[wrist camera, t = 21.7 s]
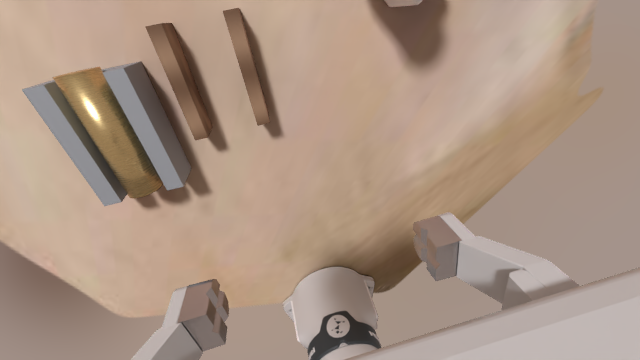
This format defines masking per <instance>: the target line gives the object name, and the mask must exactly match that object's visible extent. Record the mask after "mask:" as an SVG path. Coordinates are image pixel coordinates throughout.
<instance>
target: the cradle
mask: <svg viewBox="0 0 640 360" xmlns="http://www.w3.org/2000/svg"><path fill="white" fill-rule="evenodd" d="M102 72H103V74H104V76H105V78H106V80H107V82H108V84H109V85H110V87H111V89H112V91H113V93H114V95H115V96H116V98H117V100H118V102H119V104H120V105H121V107H122V109H123V111H124V113H125V115H126V116H127V118H128V120H129V122H130V124H131V125H132V127H133V129H134V131H135V133H136V135H137V136H138V138H139V140H140V142H141V144H142V145H143V147H144V149H145V151H146V153H147V155H148V156H149V158H150V160H151V162H152V164H153V166H154V167H155V169H156V171H157V173H158V175H159V176H160V178H161V180H162V182H163V184H164V186H165V187H166V189H167V191H168V190H172V189H176V188H180V187H184V184H185V182H186V180H187V178H188V175H189V173H190V171H191V166H190V164H189V162H188V160H187V158H186V156H185V153H184V151H183V149H182V147H181V145H180V143H179V141H178V139H177V137H176V134H175V132H174V130H173V128H172V126H171V124H170V122H169V120H168V117H167V115H166V113H165V111H164V109H163V107H162V105H161V103H160V101H159V98H158V96H157V94H156V92H155V90H154V88H153V86H152V84H151V81H150V79H149V77H148V75H147V73H146V71H145V69H144V67H143V65H142V62H136V63H131V64H127V65H122V66H117V67H113V68H108V69H103V70H102ZM22 91H23V92H24V94H25V95H26V96H27V98H28V99H29V101H30V102H31V103H32V105H33V106H34V108H35V109H36V110H37V112H38V113H39V115H40V116H41V117H42V119H43V120H44V122H45V123H46V125H47V126H48V127H49V129H50V130H51V132H52V133H53V134H54V136H55V137H56V139H57V140H58V141H59V143H60V144H61V146H62V147H63V148H64V150H65V151H66V153H67V154H68V155H69V157H70V158H71V160H72V161H73V162H74V164H75V165H76V167H77V168H78V169H79V171H80V172H81V174H82V175H83V176H84V178H85V179H86V181H87V182H88V183H89V185H90V186H91V188H92V189H93V190H94V192H95V193H96V195H97V196H98V198H99V199H100V200H101V202H102V203H103V205H104V206H107V205H111V204H115V203H119V202H122V201H123V199H124V198H125V196H126V195H127V193H126V191H125V190H124V188H123V187H122V185H121V183H120V182H119V180H118V179H117V177H116V176H115V174H114V172H113V171H112V169H111V168H110V166H109V165H108V163H107V162H106V160H105V158H104V157H103V155H102V154H101V152H100V151H99V149H98V148H97V146H96V144H95V143H94V141H93V140H92V138H91V137H90V135H89V134H88V132H87V130H86V129H85V127H84V126H83V124H82V123H81V121H80V119H79V118H78V116H77V115H76V113H75V112H74V110H73V109H72V107H71V105H70V104H69V102H68V101H67V99H66V98H65V96H64V95H63V93H62V91H61V90H60V88H59V87H58V85H57V84H56V82H55V81H54V80H52V81H49V82H45V83H42V84H39V85H35V86H32V87H29V88H26V89H22Z"/></svg>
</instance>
